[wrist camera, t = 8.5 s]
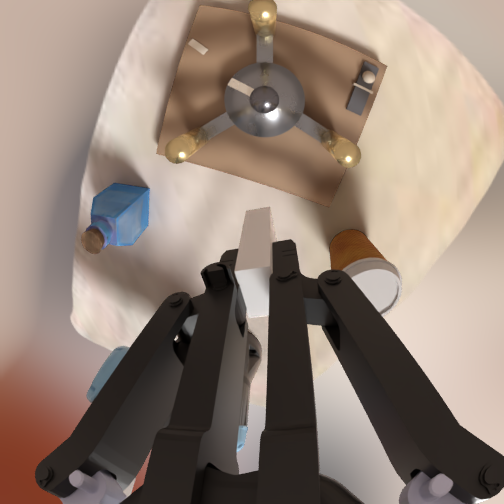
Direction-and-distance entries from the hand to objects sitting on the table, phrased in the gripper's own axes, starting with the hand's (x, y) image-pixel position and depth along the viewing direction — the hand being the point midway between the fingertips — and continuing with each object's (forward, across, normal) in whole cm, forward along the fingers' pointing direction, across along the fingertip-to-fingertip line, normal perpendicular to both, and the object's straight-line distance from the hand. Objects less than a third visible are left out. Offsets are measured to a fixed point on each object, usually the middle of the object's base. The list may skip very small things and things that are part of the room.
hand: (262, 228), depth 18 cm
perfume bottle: (+22, -21, -2) cm, 30 cm away
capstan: (+18, +3, +6) cm, 20 cm away
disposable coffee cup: (+21, +10, -15) cm, 28 cm away
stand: (+21, +2, +8) cm, 22 cm away
